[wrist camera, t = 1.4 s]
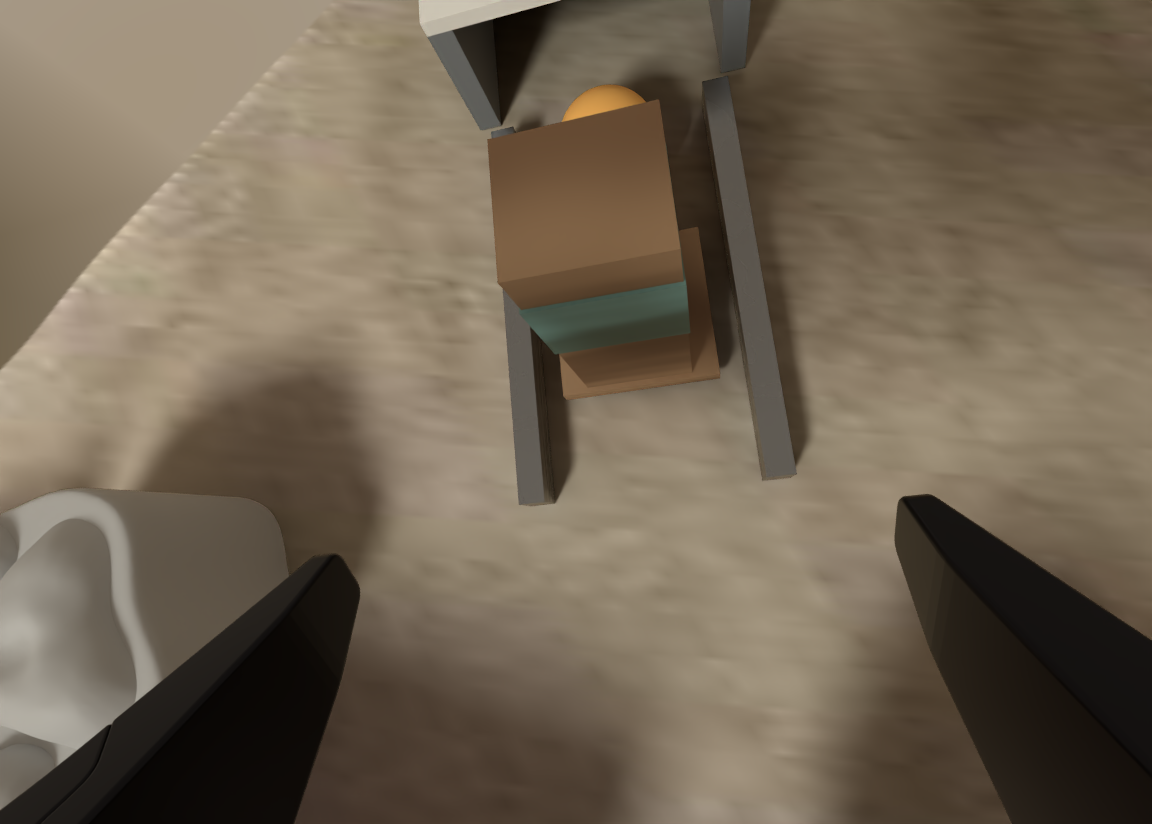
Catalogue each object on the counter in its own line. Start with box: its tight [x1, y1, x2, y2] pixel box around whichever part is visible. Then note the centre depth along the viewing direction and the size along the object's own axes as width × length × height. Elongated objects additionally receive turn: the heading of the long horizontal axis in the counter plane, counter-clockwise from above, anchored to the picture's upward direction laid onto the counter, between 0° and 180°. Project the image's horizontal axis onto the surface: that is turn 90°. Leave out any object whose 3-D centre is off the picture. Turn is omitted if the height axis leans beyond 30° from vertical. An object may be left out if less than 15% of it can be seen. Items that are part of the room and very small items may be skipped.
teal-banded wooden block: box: [487, 99, 720, 400], centre depth 19 cm, size 8×6×11 cm
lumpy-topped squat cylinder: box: [0, 488, 289, 810], centre depth 22 cm, size 10×13×9 cm
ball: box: [562, 85, 645, 122], centre depth 24 cm, size 4×4×4 cm
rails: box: [491, 76, 797, 506], centre depth 24 cm, size 16×10×2 cm, turn 5°
